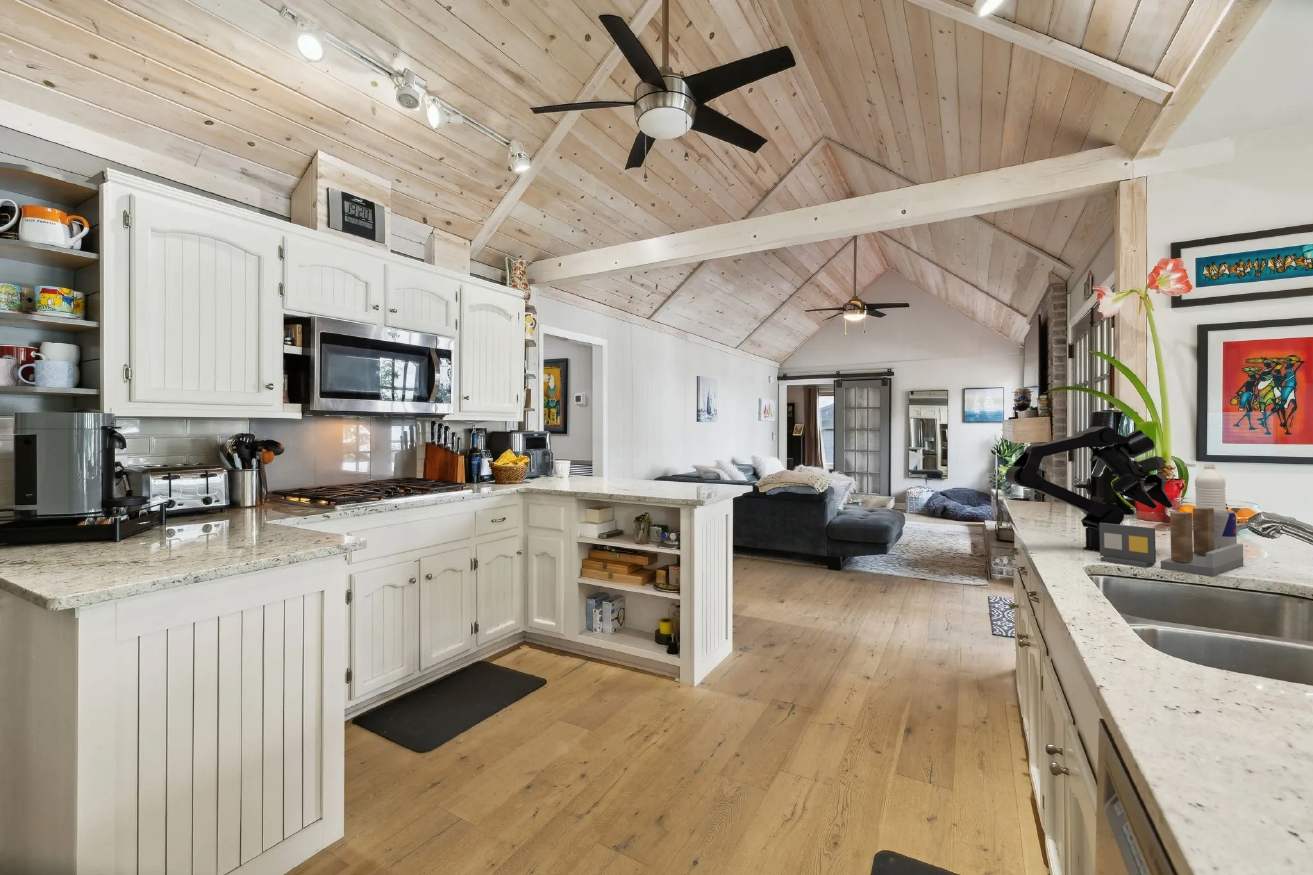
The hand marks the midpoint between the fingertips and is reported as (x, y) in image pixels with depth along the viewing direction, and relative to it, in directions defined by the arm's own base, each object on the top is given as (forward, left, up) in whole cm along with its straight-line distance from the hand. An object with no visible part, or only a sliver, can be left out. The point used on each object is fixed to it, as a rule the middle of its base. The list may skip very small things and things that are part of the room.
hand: (1163, 507), depth 160 cm
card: (-3, -16, -14) cm, 21 cm away
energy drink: (+7, +16, -14) cm, 23 cm away
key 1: (+8, -14, -12) cm, 20 cm away
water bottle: (+1, +24, -14) cm, 28 cm away
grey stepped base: (+10, -7, -14) cm, 19 cm away
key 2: (+8, 0, -12) cm, 14 cm away
